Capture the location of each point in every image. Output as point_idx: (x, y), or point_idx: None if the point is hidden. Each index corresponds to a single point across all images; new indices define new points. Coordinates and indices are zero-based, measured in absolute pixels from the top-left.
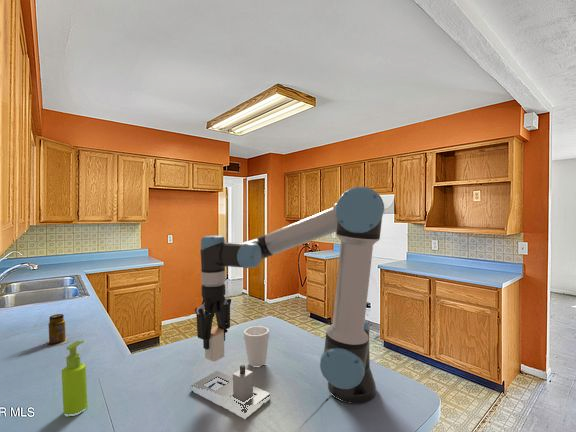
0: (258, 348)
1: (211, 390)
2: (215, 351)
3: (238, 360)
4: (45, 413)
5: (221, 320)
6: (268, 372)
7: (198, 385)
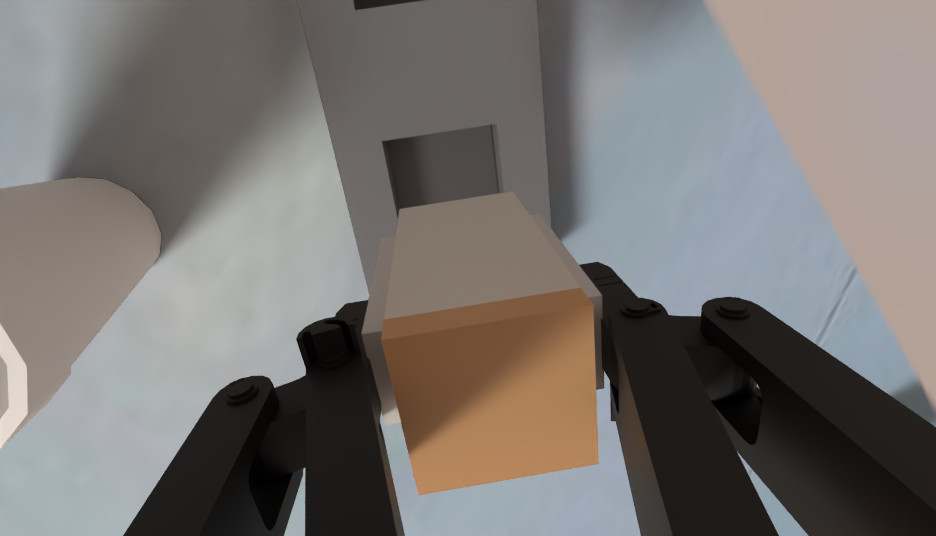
0: (13, 214)
1: (509, 146)
2: (512, 219)
3: (184, 348)
4: None
5: (382, 492)
6: (79, 100)
7: None
